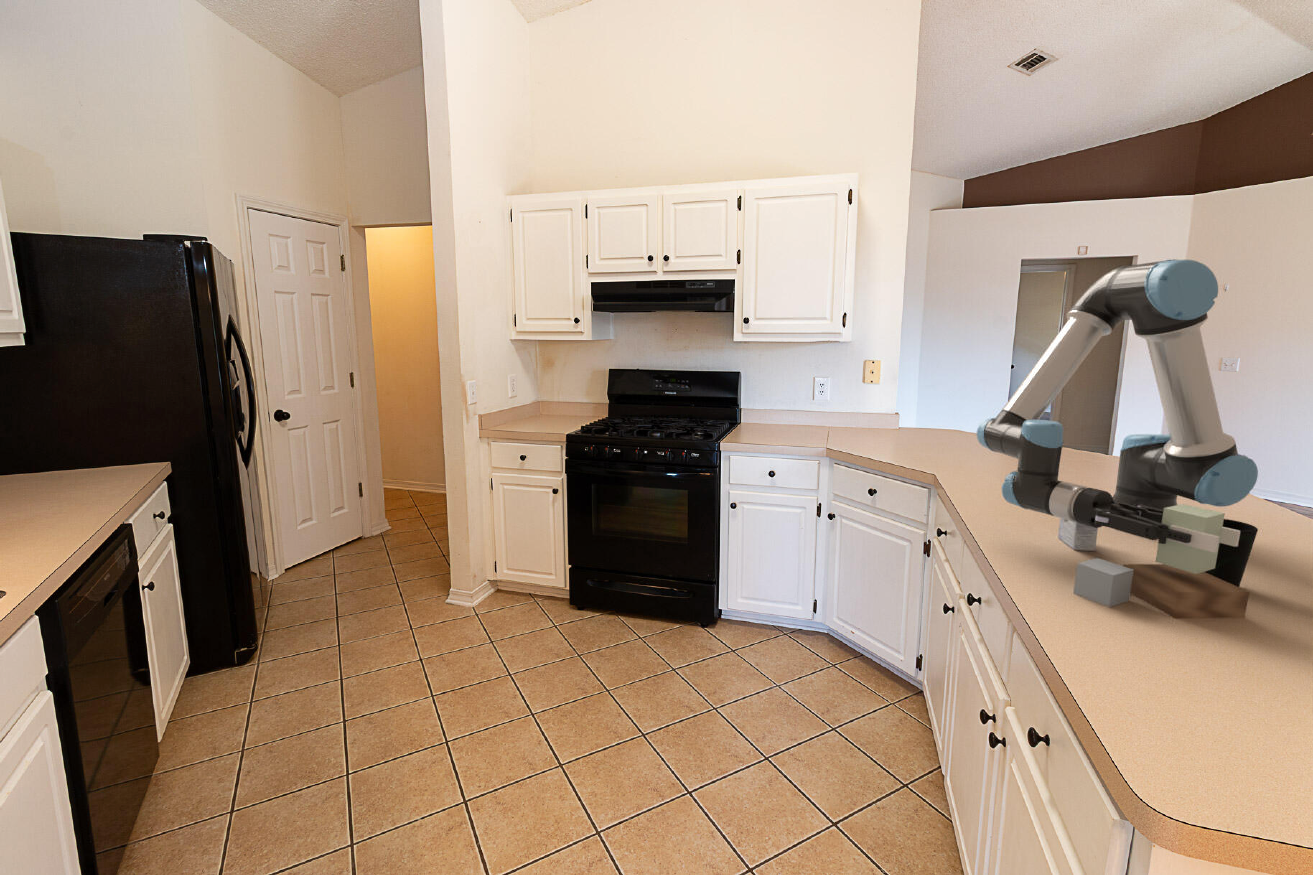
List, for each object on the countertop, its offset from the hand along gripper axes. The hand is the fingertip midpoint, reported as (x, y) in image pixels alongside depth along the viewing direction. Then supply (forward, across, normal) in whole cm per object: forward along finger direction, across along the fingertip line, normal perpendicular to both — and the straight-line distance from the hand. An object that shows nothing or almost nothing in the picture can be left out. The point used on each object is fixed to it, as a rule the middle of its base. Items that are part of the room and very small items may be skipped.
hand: (1227, 541), depth 100 cm
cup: (-6, -16, -13) cm, 21 cm away
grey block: (-12, +11, -13) cm, 21 cm away
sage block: (-5, 0, -6) cm, 8 cm away
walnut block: (-5, 0, -13) cm, 14 cm away
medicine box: (-31, -13, -13) cm, 36 cm away
